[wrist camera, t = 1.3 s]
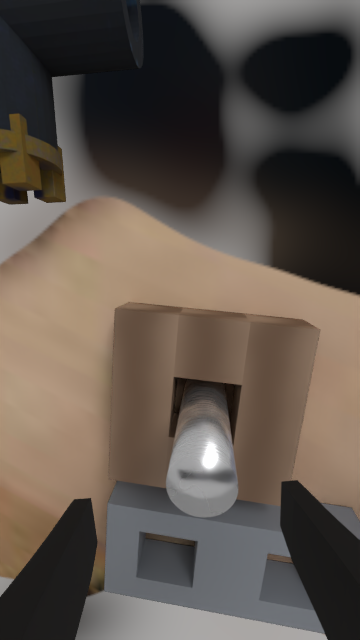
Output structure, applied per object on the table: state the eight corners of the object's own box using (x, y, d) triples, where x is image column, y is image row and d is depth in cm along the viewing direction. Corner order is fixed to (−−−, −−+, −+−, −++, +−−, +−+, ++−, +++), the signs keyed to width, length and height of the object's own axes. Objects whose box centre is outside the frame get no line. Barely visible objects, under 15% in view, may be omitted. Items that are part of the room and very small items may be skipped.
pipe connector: (125, 171, 13) (-149, 187, 15) (149, 200, 18) (-55, 209, 20) (110, -135, 11) (-204, -78, 13) (142, -4, 16) (-83, 24, 18)
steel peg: (227, 373, 20) (242, 460, 11) (222, 411, 20) (233, 522, 12) (186, 369, 20) (168, 450, 11) (182, 406, 21) (163, 511, 12)
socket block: (302, 319, 18) (320, 329, 15) (275, 473, 21) (286, 507, 18) (129, 302, 19) (114, 308, 16) (121, 450, 22) (108, 479, 19)
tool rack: (351, 507, 21) (375, 547, 18) (330, 589, 22) (349, 638, 19) (120, 472, 22) (107, 503, 19) (117, 551, 24) (104, 591, 21)
